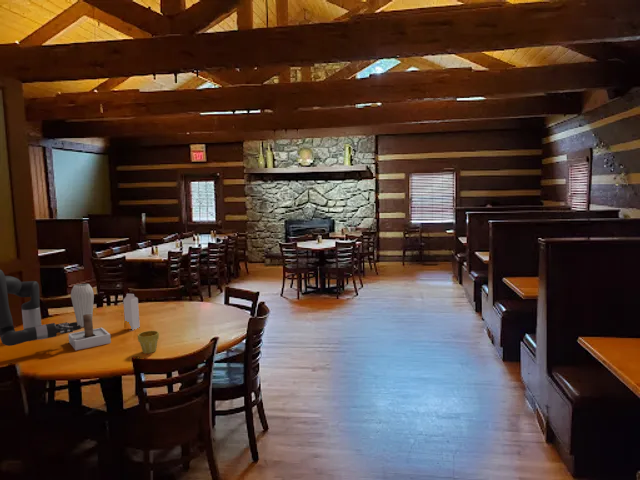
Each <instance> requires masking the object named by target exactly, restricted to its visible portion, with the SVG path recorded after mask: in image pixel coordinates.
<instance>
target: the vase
mask: <svg viewBox="0 0 640 480" xmlns="http://www.w3.org/2000/svg"><path fill="white" fill-rule="evenodd" d="M94 298H95V292H94V289H93V287H92V286H91V285H90V283H81V284H74V285H73V287H72V288H71V292H70V299H71V303H72V308H73V311H74V315H75V320H76V322H77V326H78V325H80V326H81V328H84V320H83V315H86V314H92V317H93V316H94V315H93V314H94V313H93V312H94Z"/></svg>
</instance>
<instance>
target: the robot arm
mask: <svg viewBox="0 0 640 480" xmlns="http://www.w3.org/2000/svg"><path fill="white" fill-rule="evenodd" d="M8 294H10V295H15V296H17V297H19V298H30V300H29V301H27V302H24V303H22V304H21V305H20V307H21V316H22V325H23V326H22V327H23V329H22V330H16V329H15V327H14V322H13V321H14V320H13V316H12V313H11V309H10V305H9V304H10V303H9V296H8ZM40 302H41V301H40V284H39V282H38V281H36V280H30V281H21V280H20V279H19V278H18V277H15V276H13V275H12V276H11V275H6V274H5V273H4V271H3V270H2V269H0V341H1V343H2V344H3V345H4V346H7V347H10V346H11V347H12V346H16V345H20V344H24V343H26V342H31V341H32V342H33V341H37V340H46V339H51V338H55V337H57V336H58V335H57V334H60V335H63V334H70V333H74V331H79V330H81V329H82V327H81V326H80V325H77V321H75V322H66V321H65V322H62V323H55V322H51V323H46V324H42V316H41V307H40V304H41V303H40Z"/></svg>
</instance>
